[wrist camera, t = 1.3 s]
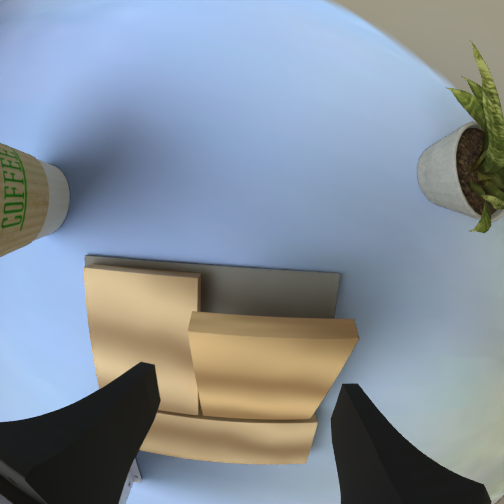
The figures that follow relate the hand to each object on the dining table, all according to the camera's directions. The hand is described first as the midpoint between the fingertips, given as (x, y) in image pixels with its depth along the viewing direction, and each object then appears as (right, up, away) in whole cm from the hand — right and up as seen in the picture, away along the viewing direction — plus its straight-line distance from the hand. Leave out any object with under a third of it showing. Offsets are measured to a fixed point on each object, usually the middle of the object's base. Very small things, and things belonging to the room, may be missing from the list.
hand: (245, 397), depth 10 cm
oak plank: (+1, -3, +9) cm, 9 cm away
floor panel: (-4, -5, +13) cm, 14 cm away
